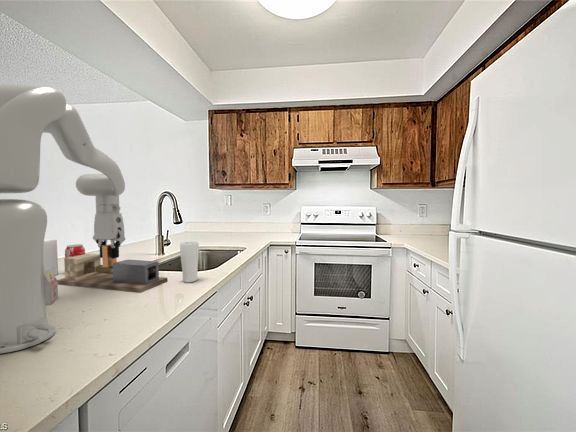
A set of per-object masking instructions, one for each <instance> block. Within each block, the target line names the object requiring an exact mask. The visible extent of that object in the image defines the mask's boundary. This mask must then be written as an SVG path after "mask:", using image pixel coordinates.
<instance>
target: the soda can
mask: <svg viewBox="0 0 576 432" xmlns="http://www.w3.org/2000/svg"><path fill="white" fill-rule="evenodd" d="M84 254H86V249H85V247H84V244H82V243H81V244H80V243H79V244H69V245H68V244H67V245H66V248H65V249H64V258H68V257H74V256H79V255H84Z"/></svg>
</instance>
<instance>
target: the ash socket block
mask: <svg viewBox="0 0 576 432" xmlns="http://www.w3.org/2000/svg"><path fill="white" fill-rule="evenodd" d="M101 260H102V258H100V253H85V254H84V255H79V256H74V257H68V258H65V257H64V261H63V262H64V264H63V265H64V278H65V279H68V280H80V279H84V278H88V277H91V276H95V275H98V274H101V273H97V272H96V267H97V266H98V265H102V262H101Z"/></svg>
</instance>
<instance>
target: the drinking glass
mask: <svg viewBox="0 0 576 432" xmlns="http://www.w3.org/2000/svg"><path fill="white" fill-rule="evenodd" d="M179 248H180V255H179V256H180V262H181V269H182V270H181V271H182V282H184V283H194V282H197V280H198V268H199V254H200V252H199V250H200V248H199V242H198V241H184V242H183V241H182V242H180V247H179Z"/></svg>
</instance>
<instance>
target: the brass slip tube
mask: <svg viewBox="0 0 576 432" xmlns="http://www.w3.org/2000/svg"><path fill="white" fill-rule="evenodd" d="M111 248H112V246H111V243H110V244H109V243H107V245H102V258H101V260H102V264H101V265H98V266H97V267H96V272H97V273H104V274H113V263H116V262H118V261H117V260H118V258H114V259H111V250H110V249H111ZM150 273H151V271H150V269H149V268H148V276H149V275H150Z"/></svg>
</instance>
